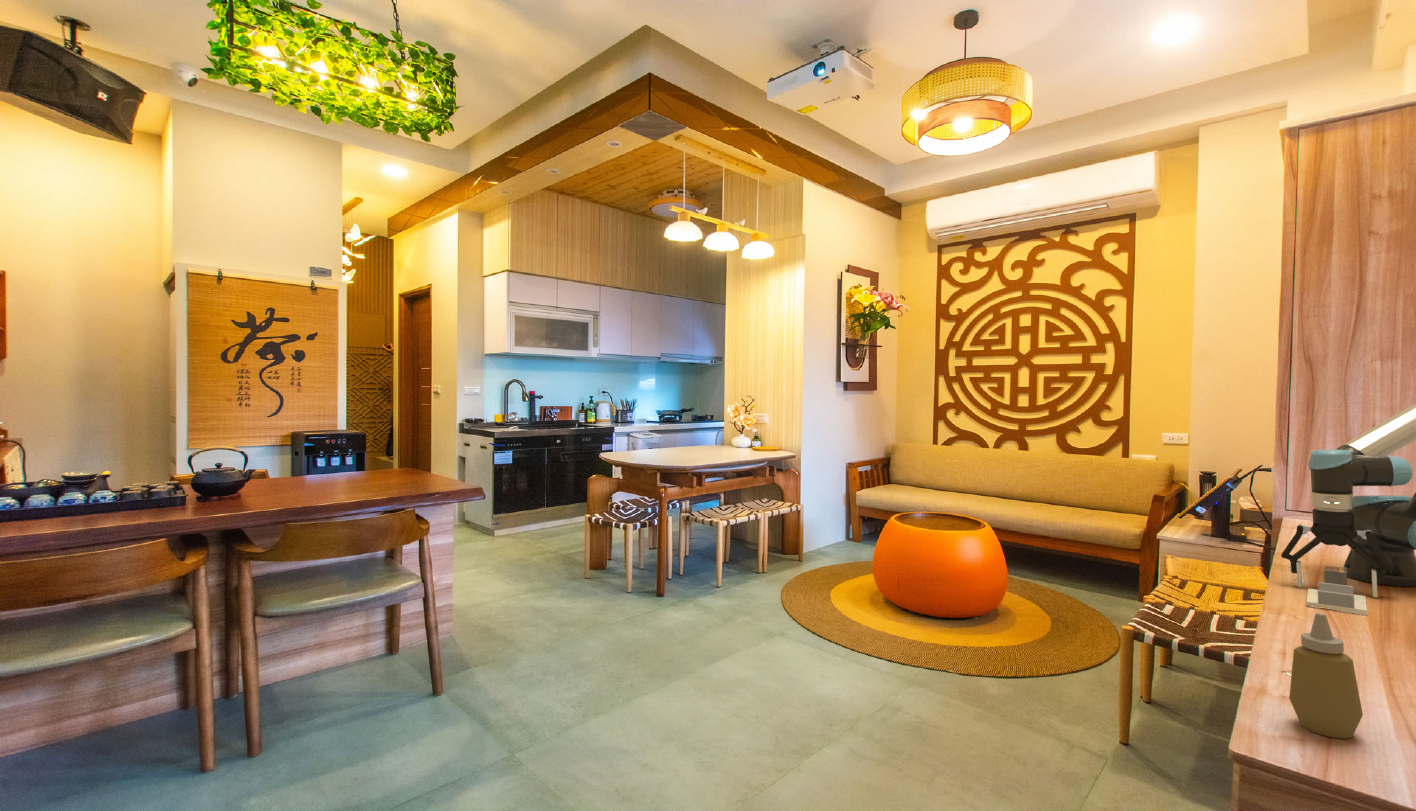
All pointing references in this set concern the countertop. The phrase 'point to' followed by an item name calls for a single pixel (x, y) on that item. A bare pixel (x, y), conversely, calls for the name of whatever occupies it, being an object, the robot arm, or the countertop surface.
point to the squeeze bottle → (1324, 684)
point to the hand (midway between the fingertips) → (1336, 590)
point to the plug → (1335, 575)
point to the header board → (1337, 598)
